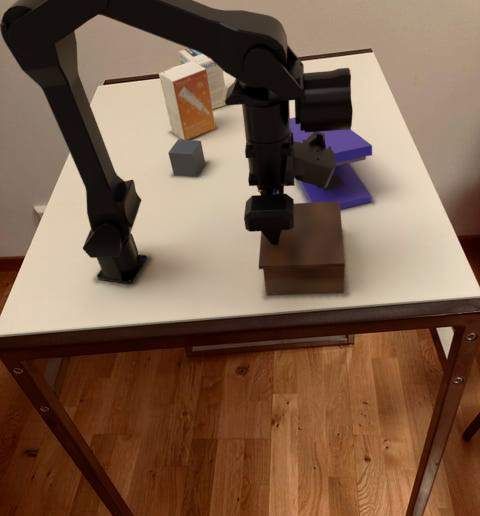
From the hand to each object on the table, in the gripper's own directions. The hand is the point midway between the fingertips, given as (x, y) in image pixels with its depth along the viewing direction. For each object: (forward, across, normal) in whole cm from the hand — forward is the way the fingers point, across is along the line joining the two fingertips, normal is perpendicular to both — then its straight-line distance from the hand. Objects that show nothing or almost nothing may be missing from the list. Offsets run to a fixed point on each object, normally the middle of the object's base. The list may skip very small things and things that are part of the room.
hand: (275, 230), depth 76 cm
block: (+7, +29, +19) cm, 35 cm away
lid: (+1, 0, -4) cm, 4 cm away
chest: (+6, 0, -4) cm, 8 cm away
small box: (+7, +45, +20) cm, 50 cm away
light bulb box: (+7, +59, +19) cm, 62 cm away
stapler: (+7, +27, -7) cm, 29 cm away
